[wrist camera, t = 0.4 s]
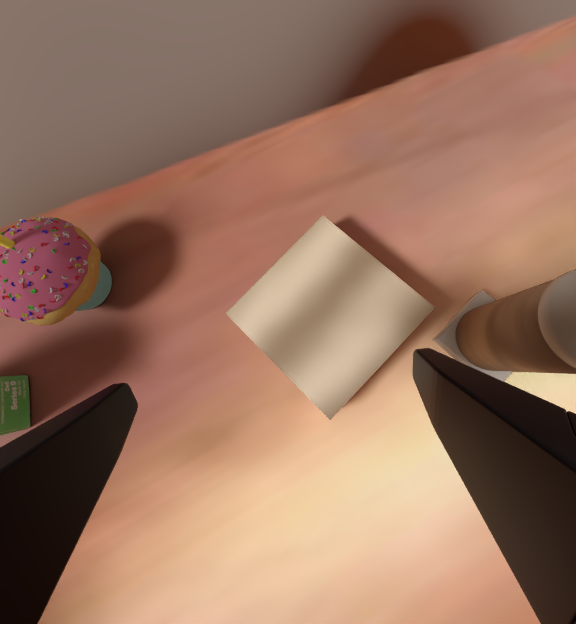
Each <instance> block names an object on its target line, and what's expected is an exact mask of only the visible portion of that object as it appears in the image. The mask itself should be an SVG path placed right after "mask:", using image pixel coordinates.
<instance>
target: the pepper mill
mask: <svg viewBox="0 0 576 624" xmlns="http://www.w3.org/2000/svg"><path fill="white" fill-rule="evenodd" d="M433 341H434V342H436V343H437V344H438V345H439V346H440V347H441V348H443V349H444V350H445V351H446V352H447V353H448V354H450V355H451V356H452V357H453V358H454V359H456V360H457V361H459V362H461V363H463V364H466V365H468V366H470V367H472V368H475V369H477V370H479V371H481V372H483V373H486V374H488V375H490V376H492V377H495V378H497V379H499V380H501V381H503V382H504V381H505V380H506V379H507V377H508V376H509V375H510V374H511V373H512V372H540V373H568V374H576V270H573V271H570V272H567V273H565V274H563V275H561V276H559V277H558V278H556V279H554V280H552V281H549V282H546V283H543V284H541V285H538V286H535V287H532V288H530V289H527V290H524V291H521V292H518V293H516V294H513V295H510V296H507V297H505V298H502V299H499V300H495V299H494V298H493V297H491V296H490V295H489V294H487V293H486V292H485V291H483V290H482V291H480V292H478V293H476V294H475V295H474V296H473V297H472V298H471V299H470V300H469V301H468V302H467V303H466V304H465V305H464V307H463V308H462V309H461V310H460V311H459V312H458V313H457V314H456V315H455V316H454V317H453V318H452V319H451V321H450V322H449V323H448V324H447V325H446V326H445V327H444V328H443V329H442V330H441V331H440V332H439V334H438V335H437V336H436V337H435V338H434V339H433Z"/></svg>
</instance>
